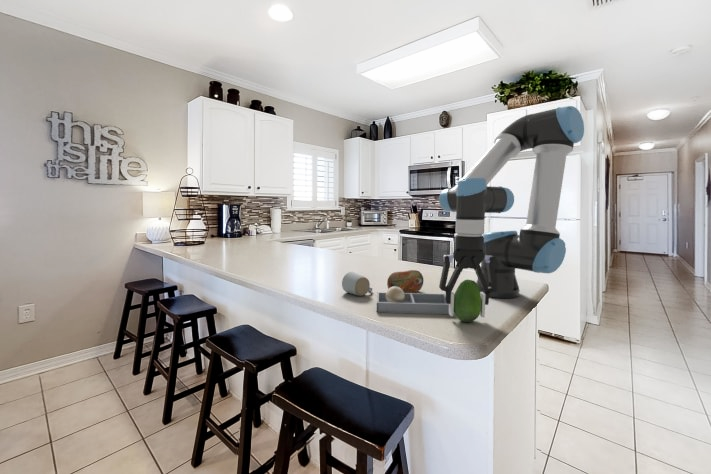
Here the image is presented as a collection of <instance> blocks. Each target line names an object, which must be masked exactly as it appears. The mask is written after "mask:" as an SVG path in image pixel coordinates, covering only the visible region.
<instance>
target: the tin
mask: <svg viewBox="0 0 711 474" xmlns="http://www.w3.org/2000/svg"><path fill="white" fill-rule="evenodd" d="M386 283H387V284H386V285H387V290H388V289H389V288H391V287H393V286H396V287H399V288H401V289H402V290H403V292H404V293H418V292H419V291H420V290H421V289H422V288H423V286H424V276H423V274H422V273H421V272H420V271H419V270H416V269H411V270H408V269H407V270H403V271H402V270H401V271H395V272H392V273H391V274H390V275H389V276H388V278H387V282H386Z"/></svg>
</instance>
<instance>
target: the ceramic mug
mask: <svg viewBox="0 0 711 474" xmlns="http://www.w3.org/2000/svg"><path fill="white" fill-rule="evenodd" d="M370 285H371V284H370V280H369V278H367V277H365V276H364V275H361V274H359V273H356V272H353V271H348V272H347V273H346V274H344V275H343V278H342V280H341V286H342V287H341V288H342V289H343V291H345V292H346V293H348V294H351V295H354V296H358V297H363V296H365V295H366V294H368V292H370V293H372V292H373V288H372V287H371V286H370Z"/></svg>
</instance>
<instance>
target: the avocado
mask: <svg viewBox="0 0 711 474" xmlns="http://www.w3.org/2000/svg"><path fill="white" fill-rule="evenodd" d="M476 282H477V281H475V280H473V279H464V280H463V281H462V282H460V283H459V284H458V287H457V288H456V290H455V293H454V313H453V315H455V317H456V318H457V319H458V320H459V321H461V322H463V323H471V322H474V321H475V320H476V319H478V318H479V316H480V315H479V314H480V311H481V306H482V300H481V296H480V292H479V288H478V285H477V284H476Z"/></svg>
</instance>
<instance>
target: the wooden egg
mask: <svg viewBox="0 0 711 474" xmlns="http://www.w3.org/2000/svg"><path fill="white" fill-rule="evenodd" d="M385 293H386V300H387V301H388V302H393V303H402V302H403V300H404V297H405V295H404V292H403V290H402V289H401V288H399V287H396V286H393V287H391V288H389V289H388V288H387V290H386V291H385Z"/></svg>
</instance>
